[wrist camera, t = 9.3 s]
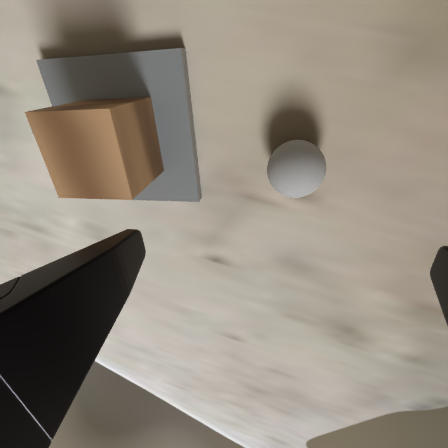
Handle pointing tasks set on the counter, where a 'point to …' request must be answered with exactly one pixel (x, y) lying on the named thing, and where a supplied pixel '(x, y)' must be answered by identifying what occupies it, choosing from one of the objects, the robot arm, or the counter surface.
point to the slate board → (135, 88)
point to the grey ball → (296, 168)
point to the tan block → (99, 147)
